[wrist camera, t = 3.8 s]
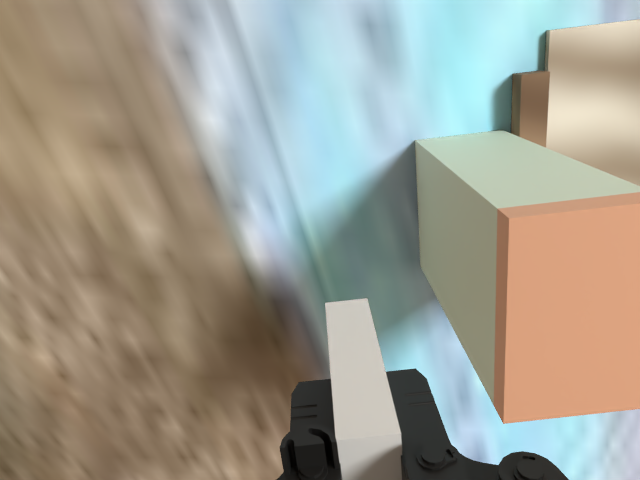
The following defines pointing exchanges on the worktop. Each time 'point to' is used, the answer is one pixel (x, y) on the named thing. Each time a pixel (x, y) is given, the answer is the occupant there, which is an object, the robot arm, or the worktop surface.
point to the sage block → (534, 272)
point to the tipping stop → (585, 97)
